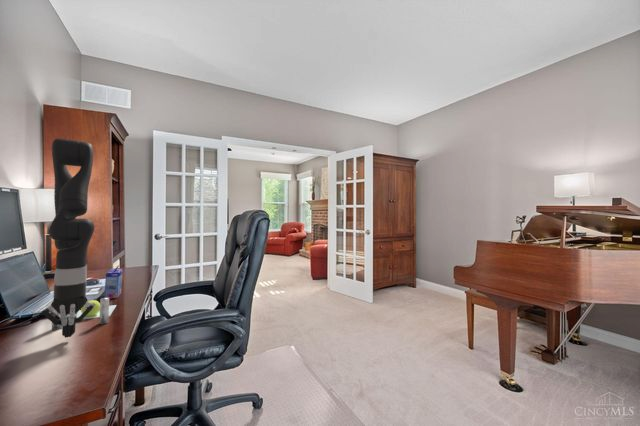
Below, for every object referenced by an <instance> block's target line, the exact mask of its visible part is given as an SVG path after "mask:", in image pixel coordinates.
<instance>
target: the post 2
mask: <svg viewBox="0 0 640 426" xmlns="http://www.w3.org/2000/svg"><path fill="white" fill-rule="evenodd" d="M99 301H100V302H99V303H100V317H99V323H98V324H99V325H107V324H108V323H109V319H110V318H109V317H110V316H109V306H110V298H108V297H107V298H104V297H101V298H100V300H99Z"/></svg>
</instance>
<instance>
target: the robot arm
mask: <svg viewBox="0 0 640 426" xmlns="http://www.w3.org/2000/svg"><path fill="white" fill-rule="evenodd" d="M93 147H94V146H93V145H92V144H91V143H89V142H86V141H81V140H80V141H79V140H77V139H75V140H74V139H67V138H55V139H54V140H53V141H52V145H51V156H52V164H53V173H54V175H53V176H54V192H53V193H54V194H53V197H54V199H53V200H54V213H55V216H54V218H53V219H52V222H51V223H50V226H49V227H48V228H49V229H48V234H49V236H50V238H51V239H52V240H54V247H55V248H56V249H57V252H56V257H55V258H56V259H55V272H54V279H53V283H54V284H53V300H52V302H51V303H50V305H49V306H48V307H46V308H44V309H43V310H42V311H41V314H42V315H43V316H44V317H46V318H47V319H48V321H50V322H51V324H52V323H53V324H55V325H62V328H61V329H62V330H61V335H62V337H64V338H71V337H72V336H73V335H74V334H75V333H76V324H77V323H81V322H82V321H83V320H84V319H83V318H84V317H85V316H86V315H87V314H88V313H89V312H90V311H91V310H92V309H93V307H94V306H95V304H94V303H92V304H91V303H89V302H88V298H87V279H88V278H87V277H88V276H87V274H88V248H89V244H90V242H91V239H92V238H93V237H92V236H93V235H94V232H95V225H94V223H93V221H92V220H91V219H88V218H77V217H82V216H84V215H86V213H87V212H88V194H89V193H88V192H89V185H90V181H91V176H92V170H93V165H94V149H93ZM67 166H69V167H70V166H71V167H80V169H79V170H78V171H77V172H76V173H75V175H74V176H72V174H71V173H70V172H69V170H68V168H67ZM84 305H85V307H84V309H85V311H84V312H83V313H82V314H81V316H80V317H78V318H77V314H78V311H79V310H80V309H81V308H82V307H83V306H84ZM54 309H55V310H56V311H57V312H58V313H59V314H60V317H61V318H60V317H59V316H58V315H57V314H56V313H54Z"/></svg>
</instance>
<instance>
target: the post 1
mask: <svg viewBox="0 0 640 426" xmlns="http://www.w3.org/2000/svg"><path fill="white" fill-rule="evenodd" d="M54 313H56V314H57V315H58V316H59V317H60V314H59V313H58V312H57V311H56V310H55V309H54ZM60 318H61V317H60ZM61 329H62V325H55V324H53V323H52V322H51V331H57V330H58V331H59V330H61Z"/></svg>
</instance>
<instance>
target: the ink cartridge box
mask: <svg viewBox="0 0 640 426" xmlns="http://www.w3.org/2000/svg"><path fill="white" fill-rule="evenodd" d="M119 267H120V265H118V266H116V268H115V269H114V268H113V269H109V270H108V271H107V272H106V273H105V281H104V295H103V298H107V297H108V298H109V299H117V298H118V299H119V296H120V295H121V294H122V285H123V284H122V283H123V270H124V269H122V268H119Z"/></svg>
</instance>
